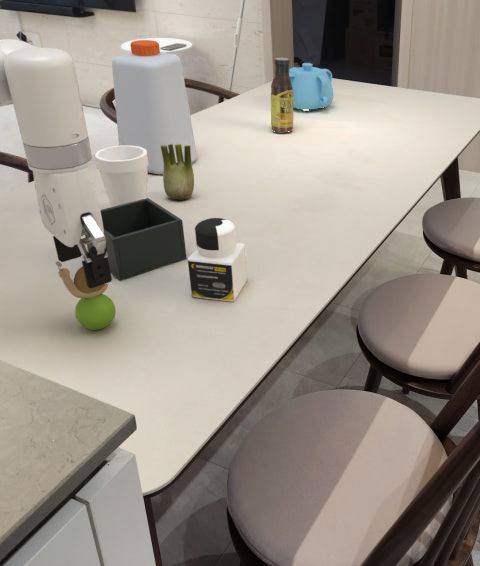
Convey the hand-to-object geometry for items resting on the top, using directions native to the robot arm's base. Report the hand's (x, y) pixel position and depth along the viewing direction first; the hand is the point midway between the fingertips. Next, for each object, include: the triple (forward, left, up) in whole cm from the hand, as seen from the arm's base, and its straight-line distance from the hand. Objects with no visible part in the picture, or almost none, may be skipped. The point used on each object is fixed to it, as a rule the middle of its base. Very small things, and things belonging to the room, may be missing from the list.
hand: (84, 271), depth 89 cm
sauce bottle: (+81, +62, -10) cm, 103 cm away
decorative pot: (+103, +78, -10) cm, 130 cm away
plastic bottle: (+41, +58, -10) cm, 72 cm away
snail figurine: (0, 0, -10) cm, 10 cm away
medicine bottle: (+20, -2, -10) cm, 22 cm away
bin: (+15, +17, -10) cm, 25 cm away
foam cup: (+22, +34, -10) cm, 42 cm away
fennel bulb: (+34, +36, -10) cm, 51 cm away
